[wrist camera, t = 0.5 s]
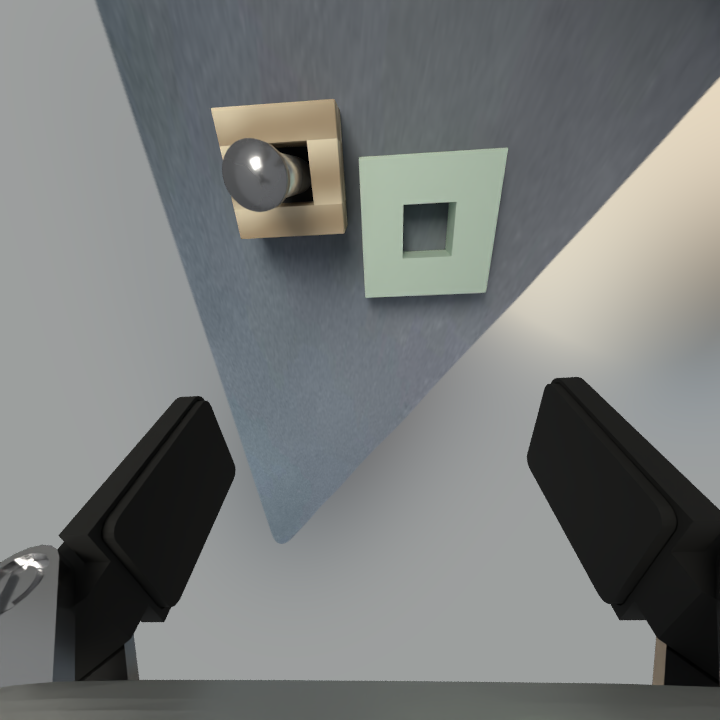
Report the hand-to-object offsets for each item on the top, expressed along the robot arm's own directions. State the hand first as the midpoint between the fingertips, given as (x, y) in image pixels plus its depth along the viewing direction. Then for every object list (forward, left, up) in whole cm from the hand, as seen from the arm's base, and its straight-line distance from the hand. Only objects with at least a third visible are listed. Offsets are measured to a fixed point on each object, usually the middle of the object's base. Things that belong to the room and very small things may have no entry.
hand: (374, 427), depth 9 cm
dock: (-2, +5, -27) cm, 27 cm away
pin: (-7, -7, -27) cm, 29 cm away
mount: (-7, -7, -27) cm, 29 cm away
